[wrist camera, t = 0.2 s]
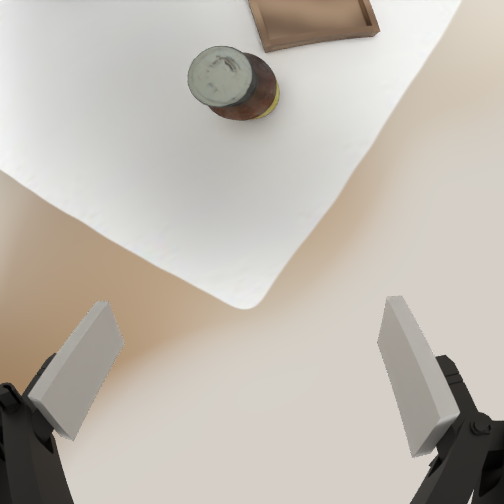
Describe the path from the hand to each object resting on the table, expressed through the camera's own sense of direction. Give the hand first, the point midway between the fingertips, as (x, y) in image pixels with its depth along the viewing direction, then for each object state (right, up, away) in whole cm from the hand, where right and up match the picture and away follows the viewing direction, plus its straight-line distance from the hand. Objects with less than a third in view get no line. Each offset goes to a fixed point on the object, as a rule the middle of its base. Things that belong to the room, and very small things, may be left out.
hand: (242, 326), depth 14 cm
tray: (+6, +37, +13) cm, 39 cm away
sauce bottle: (0, +22, +20) cm, 30 cm away
